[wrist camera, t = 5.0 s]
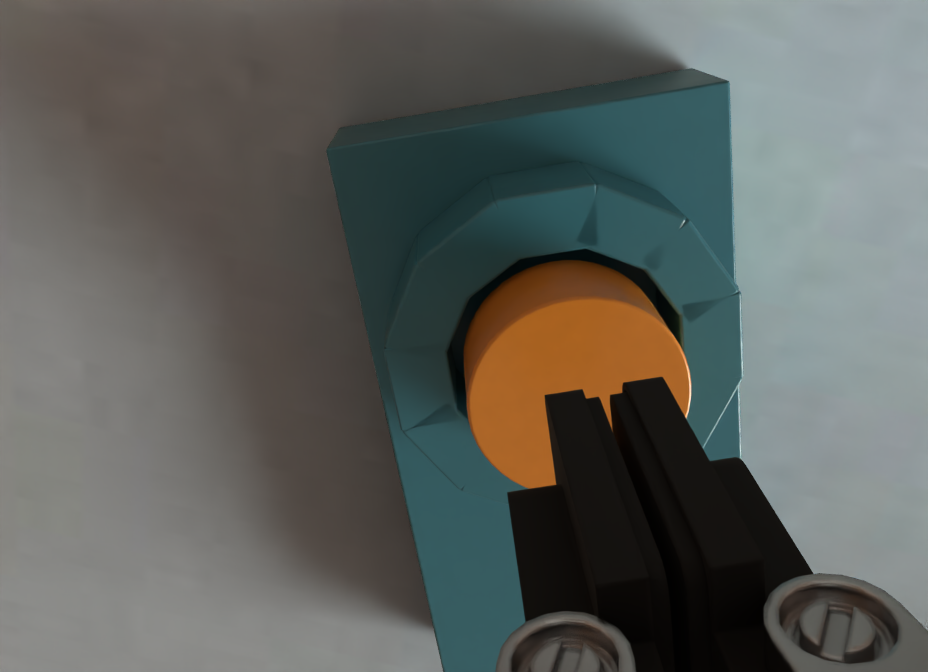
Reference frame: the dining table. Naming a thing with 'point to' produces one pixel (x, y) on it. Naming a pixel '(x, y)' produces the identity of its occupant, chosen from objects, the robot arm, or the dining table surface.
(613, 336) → the orange push button
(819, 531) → the dining table surface
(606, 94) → the push button base
